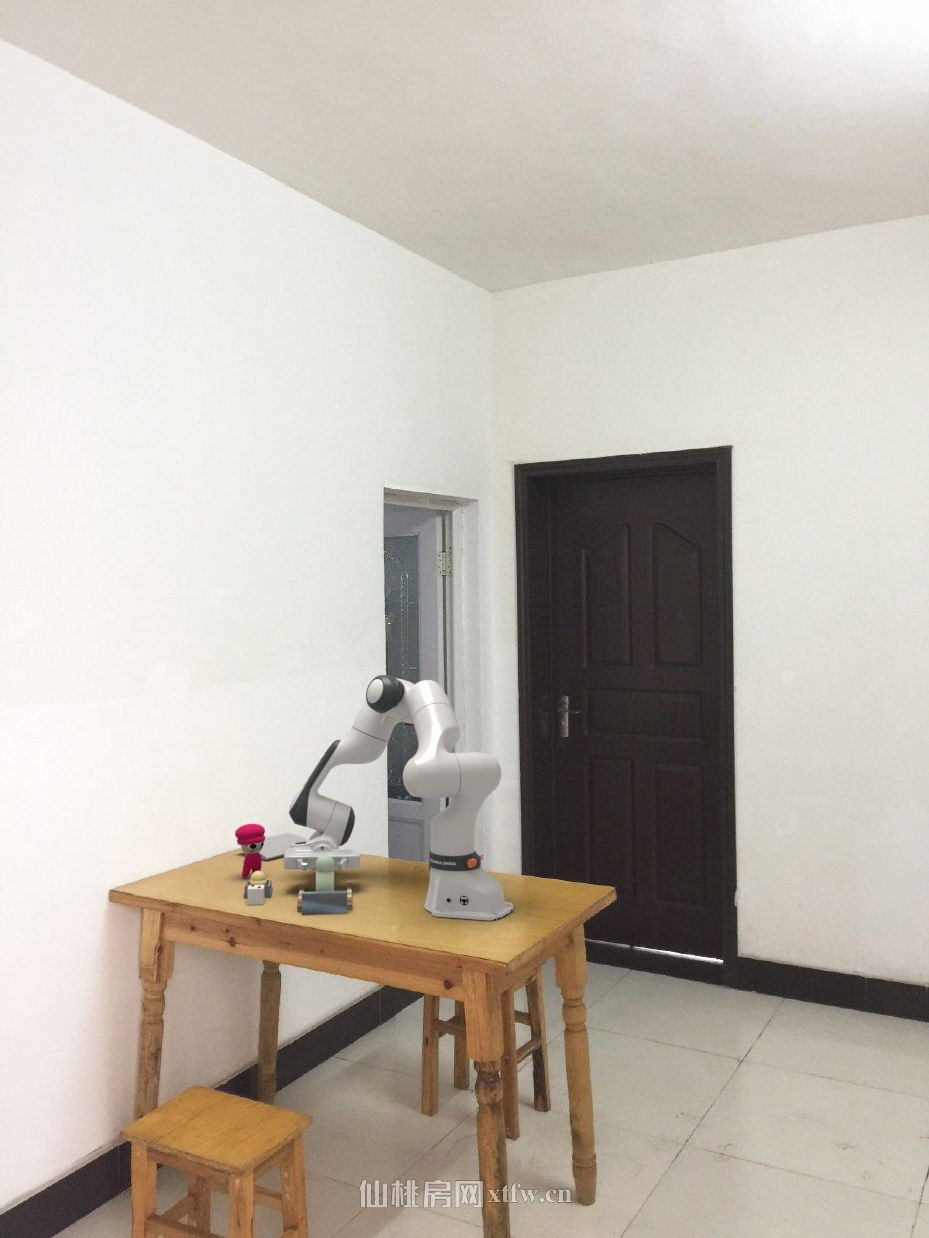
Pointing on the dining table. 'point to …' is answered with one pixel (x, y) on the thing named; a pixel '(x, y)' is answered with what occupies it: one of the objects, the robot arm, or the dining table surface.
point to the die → (256, 894)
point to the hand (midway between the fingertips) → (321, 866)
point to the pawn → (324, 873)
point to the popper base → (267, 889)
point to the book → (278, 845)
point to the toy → (251, 846)
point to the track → (324, 901)
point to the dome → (258, 878)
